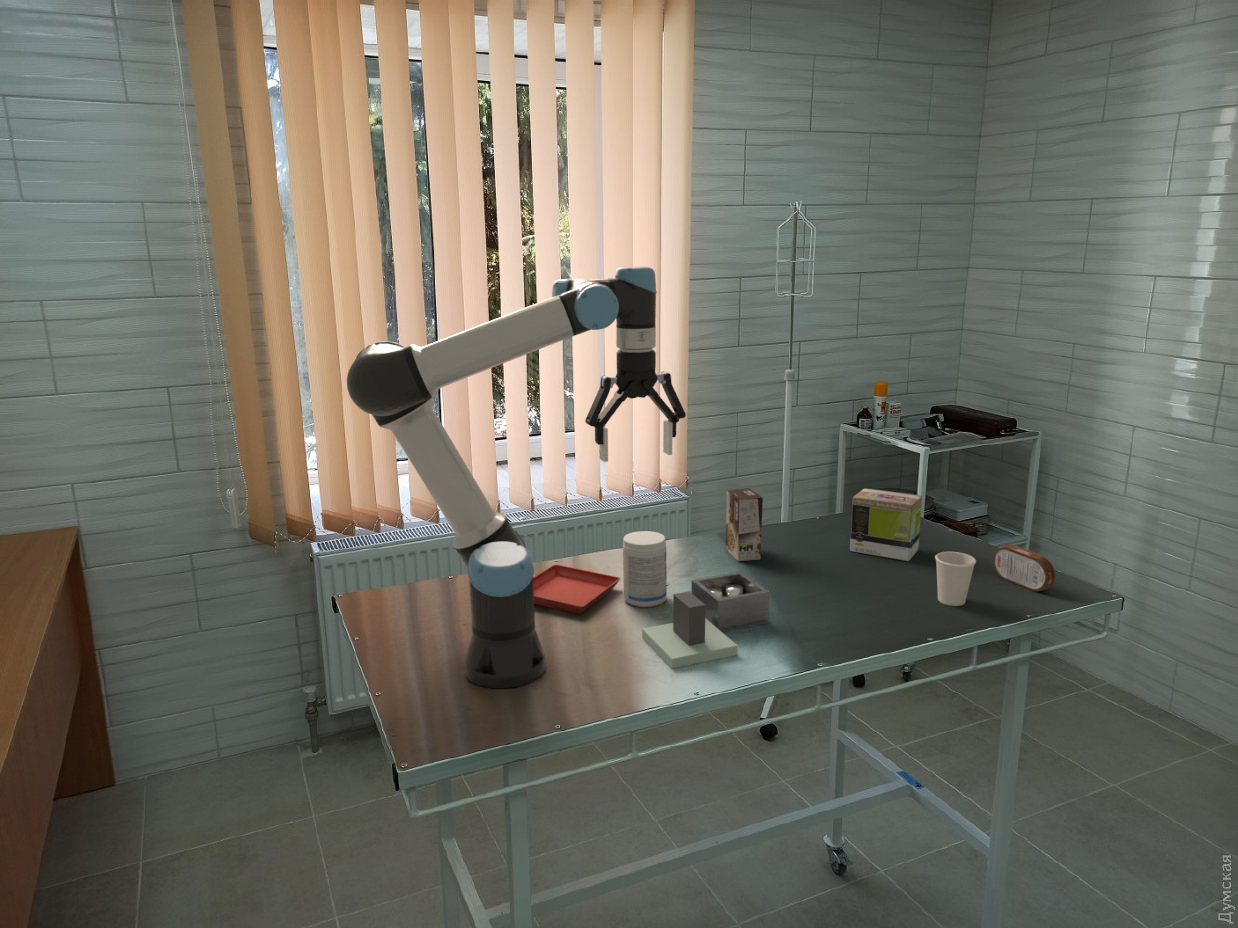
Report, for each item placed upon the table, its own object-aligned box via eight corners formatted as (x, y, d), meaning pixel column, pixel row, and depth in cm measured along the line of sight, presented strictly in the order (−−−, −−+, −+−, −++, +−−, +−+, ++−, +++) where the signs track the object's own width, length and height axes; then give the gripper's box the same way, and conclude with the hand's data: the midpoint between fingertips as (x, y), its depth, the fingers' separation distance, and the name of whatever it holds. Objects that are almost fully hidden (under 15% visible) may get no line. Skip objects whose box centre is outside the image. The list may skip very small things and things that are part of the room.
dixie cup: (928, 604, 195) (932, 561, 192) (934, 590, 202) (938, 549, 200) (969, 611, 191) (973, 567, 189) (974, 597, 198) (978, 554, 196)
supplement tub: (675, 602, 197) (675, 539, 193) (639, 612, 192) (639, 548, 188) (649, 587, 205) (649, 527, 201) (615, 597, 200) (614, 535, 196)
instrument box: (717, 632, 182) (718, 601, 180) (691, 610, 193) (691, 579, 191) (768, 622, 187) (769, 591, 185) (739, 601, 197) (740, 571, 195)
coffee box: (761, 559, 222) (763, 497, 217) (737, 561, 220) (739, 499, 216) (748, 547, 230) (750, 487, 226) (724, 549, 229) (726, 489, 224)
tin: (1054, 594, 199) (1058, 559, 197) (1044, 597, 198) (1048, 562, 196) (998, 572, 212) (1002, 539, 210) (989, 574, 211) (992, 541, 209)
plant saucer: (621, 589, 205) (621, 576, 204) (582, 620, 190) (582, 605, 189) (554, 576, 213) (554, 563, 212) (512, 604, 198) (511, 590, 197)
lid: (671, 668, 168) (672, 619, 165) (642, 637, 180) (642, 591, 178) (737, 654, 173) (738, 607, 170) (703, 625, 185) (704, 581, 183)
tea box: (919, 550, 227) (923, 494, 223) (908, 562, 219) (913, 505, 215) (860, 540, 235) (864, 486, 231) (848, 551, 226) (851, 496, 223)
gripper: (580, 355, 163) (582, 467, 168) (703, 348, 171) (701, 455, 177) (567, 350, 170) (570, 458, 175) (686, 343, 178) (685, 446, 184)
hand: (636, 456), depth 176 cm, fingers open, 13 cm apart
